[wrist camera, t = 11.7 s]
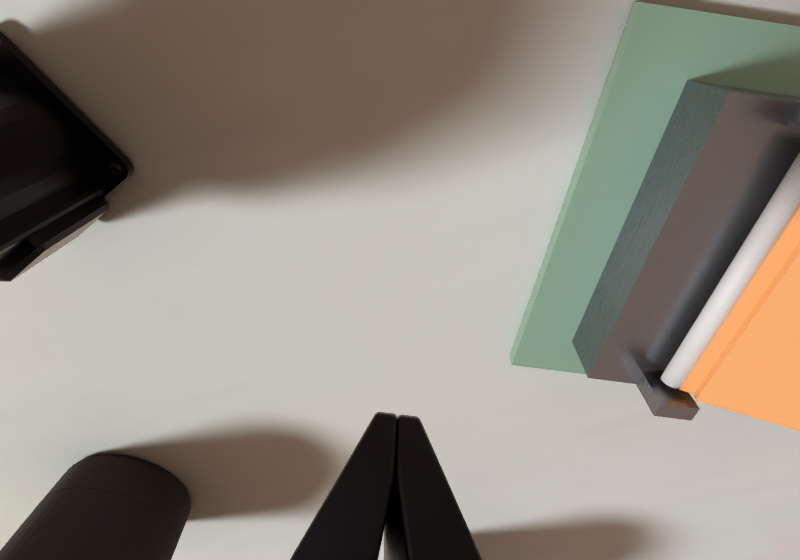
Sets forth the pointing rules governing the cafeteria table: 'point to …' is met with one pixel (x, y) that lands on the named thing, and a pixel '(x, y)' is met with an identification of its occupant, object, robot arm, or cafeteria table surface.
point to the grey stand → (685, 233)
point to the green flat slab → (639, 151)
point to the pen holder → (105, 514)
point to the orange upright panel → (752, 322)
